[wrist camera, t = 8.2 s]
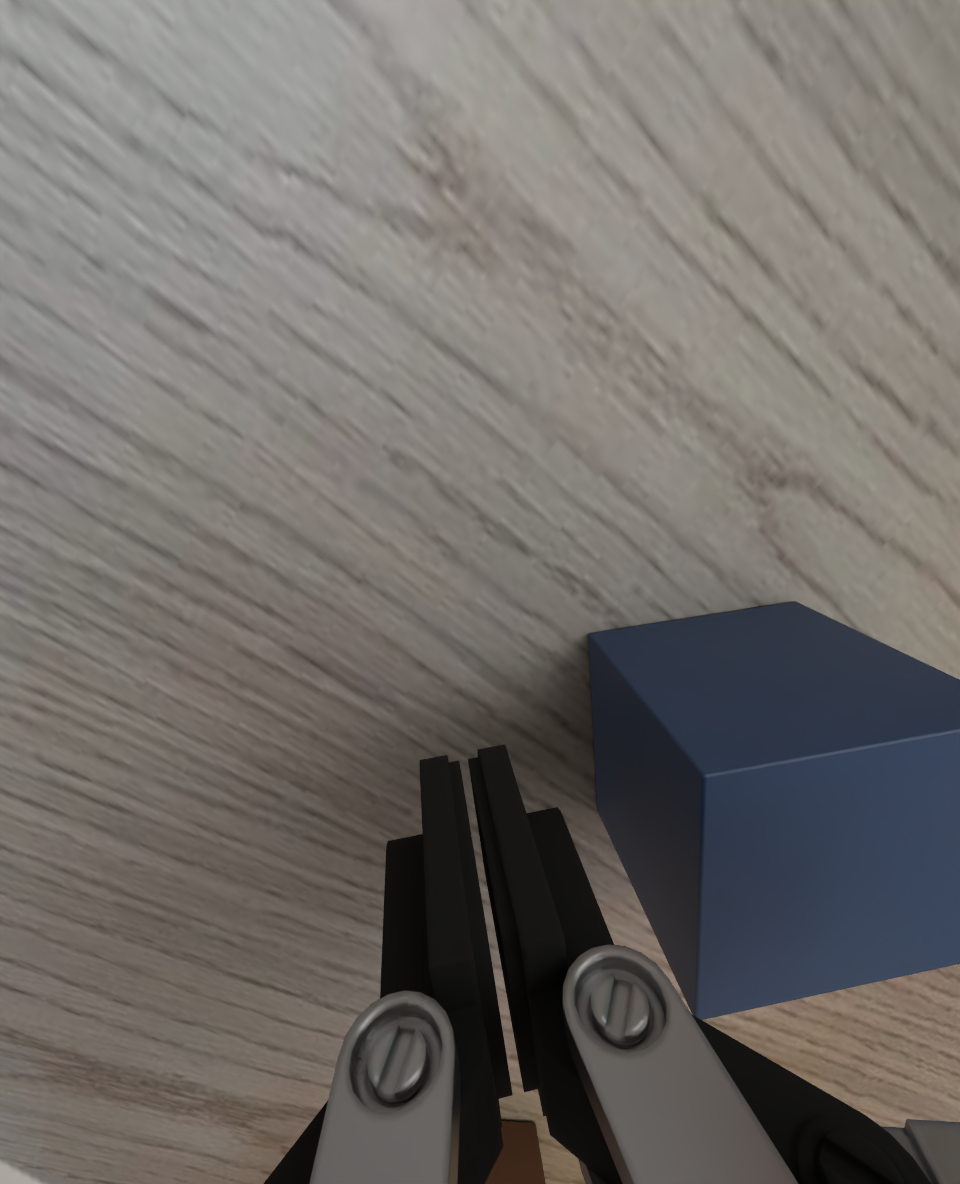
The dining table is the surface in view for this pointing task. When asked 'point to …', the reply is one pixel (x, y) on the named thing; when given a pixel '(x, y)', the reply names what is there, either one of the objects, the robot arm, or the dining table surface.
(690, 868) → the slate block
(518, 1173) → the walnut block
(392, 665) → the dining table surface
